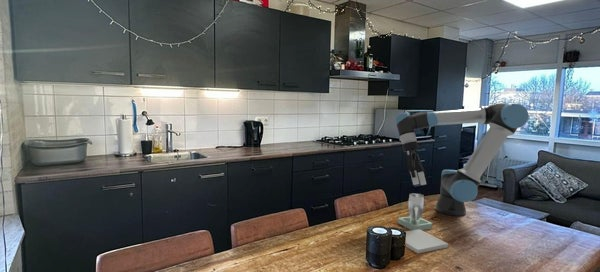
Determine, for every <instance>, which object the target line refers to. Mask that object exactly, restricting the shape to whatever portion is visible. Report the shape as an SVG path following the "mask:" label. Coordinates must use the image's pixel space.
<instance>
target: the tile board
mask: <svg viewBox="0 0 600 272" xmlns="http://www.w3.org/2000/svg"><path fill="white" fill-rule="evenodd" d="M405 232H406V246H405V247H406V248H408V249H409V250H411V251H412V252H415V253H416V254H423V253H427V252H431V251H436V250H441V249H446V248H448V247H449V243H448V242H445V241H444V240H442V239H440V238H438V237H435V236H434V235H432V234H429V233H428V232H425V230H420V229H417V230H406V231H405Z"/></svg>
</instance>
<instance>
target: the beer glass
mask: <svg viewBox="0 0 600 272" xmlns="http://www.w3.org/2000/svg"><path fill="white" fill-rule="evenodd" d="M424 206H425V196H424V194H421V193H416V192H415V193H409V197H408V217H409V223H411V224H413V225H419V224H421V218H422V215H423V212H424V208H425V207H424Z"/></svg>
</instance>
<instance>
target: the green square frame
mask: <svg viewBox="0 0 600 272" xmlns="http://www.w3.org/2000/svg"><path fill="white" fill-rule="evenodd" d="M397 224H399V225H402V226H403V227H404V228H407V229H409V231H411V230H417V229H420V230H422V231H425V230H431V229H433V222H431V221H428V220H427V219H424V218H422V217H421V224H419V225H413V224H411V223H409V216H402V217H398V218H397Z"/></svg>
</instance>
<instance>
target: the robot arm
mask: <svg viewBox="0 0 600 272" xmlns="http://www.w3.org/2000/svg"><path fill="white" fill-rule="evenodd" d="M394 119H395V123H396V129H397V132H398V136H399V141H400V143H401V144H402V145H401V148H402V151H403V153H405V156H406V163H407V165H406V166H407V172H409V174H410V176H411V182H412V185H413V186H416V185H420V186H425V185H427V180H426V177H425V173H424V172H425V170H426V169H425V168H424V167H423V164H422V162H421V159H420V156H419V153H418V152H416V151H417V150H419V148H420V147H419V144H418V141H417V136H416V133H415V131H416V130H423V129H426V128H432V127H436V126H447V125H461V124H462V125H463V124H477V123H479V124H481V125H488V126H489V128H488V130H487V132H486V133H485V134H484V136H483V137H482V139H481V141H480V142H479V143H478V145H477V147H476V148H475V149H474V151H473V152H472V154H471V156H470V157H469V158H468V160H467V162H466V163H465V165H464V166H463V168H460V169H459V168H458V169H457V170H455V169H443V170H442V171H441V175H440V176H441V178H440V189H439V190H440V192H439V197H438V200H437V202H436V204H435V210H436V211H437V212H439V213H442V214H445V215H449V216H455V217H456V216H458V217H459V216H465V215H466V214H467V208H466V204H465V203H469V202H472V201H473V200H475V199H476V197H477V196H478V191H479V189H478V187H479V186H480V185H481V182H482V181H481V177H482V175H483V174H484V172H485V171H486V169H487V167H489V165H490V164H491V162H492V161H493V159H494V157H495V156H496V155H497V153H498V152H499V150H500V148H501V147H502V146H503V144H504V143H505V141H506V139H507V138H508V137H509V136H513V135H514V134H515V133H516V132H517V129H519V128H522V127H523V126H525V125H526V123H527V122H528V120H529V112H528V109H527V107H525V106H524V105H522V104H520V103H516V102H501V103H496V104H489V105H481V106H479V108H478V107H477V108H467V109H466V108H463V109H452V110H451V109H449V110H439V111H438V110H436V111H425V112H421V111H420V112H419V111H418V112H415V113H414V114H412V115H411V114H410V113H409V112H401V113H399V114H397V115H396V116H395V118H394Z"/></svg>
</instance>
